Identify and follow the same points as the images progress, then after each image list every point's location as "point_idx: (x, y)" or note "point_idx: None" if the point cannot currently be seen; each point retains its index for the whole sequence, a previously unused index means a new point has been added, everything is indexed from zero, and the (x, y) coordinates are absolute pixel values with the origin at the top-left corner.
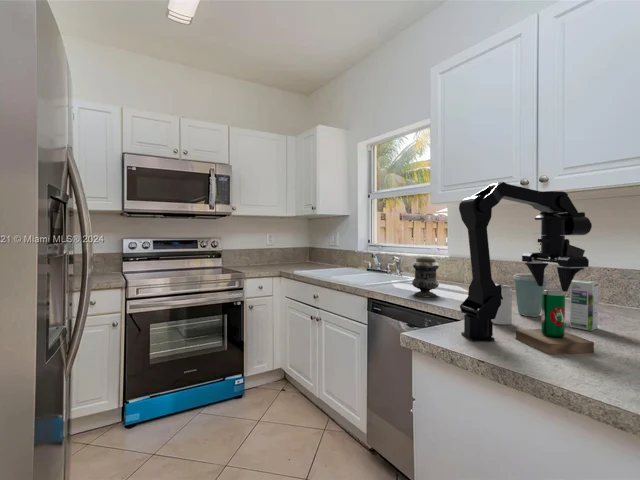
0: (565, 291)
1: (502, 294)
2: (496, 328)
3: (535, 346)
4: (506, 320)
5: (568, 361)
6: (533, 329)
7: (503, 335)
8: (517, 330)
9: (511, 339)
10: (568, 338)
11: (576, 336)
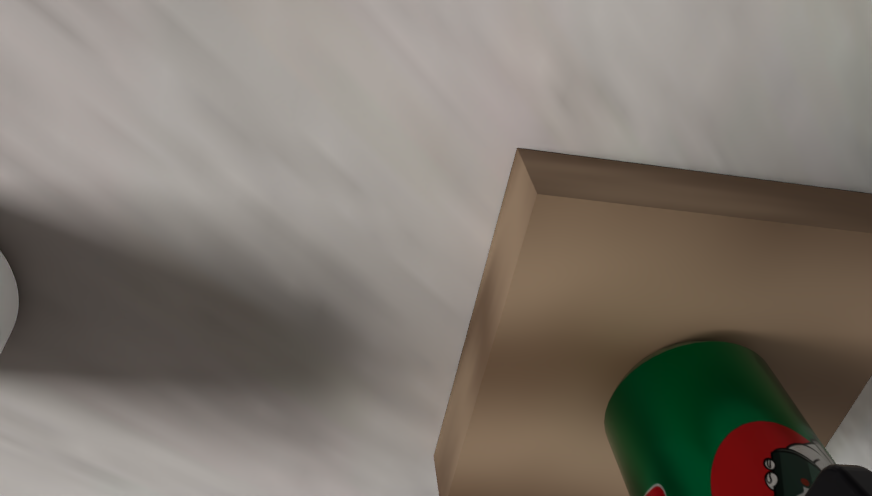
0: (838, 490)
1: None
2: (129, 420)
3: None
4: (5, 324)
5: (863, 455)
6: (482, 401)
7: (335, 478)
8: None
9: (436, 484)
10: (787, 342)
11: (796, 236)
